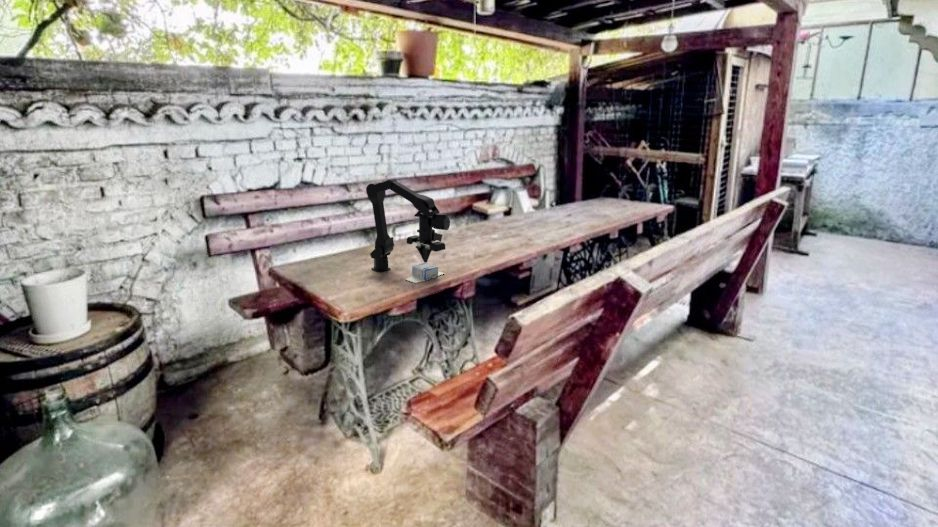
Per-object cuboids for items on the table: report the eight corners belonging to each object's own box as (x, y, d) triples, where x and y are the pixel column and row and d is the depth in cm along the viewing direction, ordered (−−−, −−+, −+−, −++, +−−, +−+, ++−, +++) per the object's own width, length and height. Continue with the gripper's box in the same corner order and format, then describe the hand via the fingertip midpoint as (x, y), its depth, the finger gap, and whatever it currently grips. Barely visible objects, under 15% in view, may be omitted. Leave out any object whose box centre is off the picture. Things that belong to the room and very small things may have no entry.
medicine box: (424, 262, 229) (438, 266, 224) (424, 272, 231) (438, 276, 225) (411, 266, 224) (425, 270, 218) (411, 276, 225) (425, 280, 219)
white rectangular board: (404, 280, 221) (404, 279, 220) (434, 271, 234) (434, 270, 233) (415, 283, 217) (415, 282, 216) (444, 274, 229) (444, 273, 229)
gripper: (454, 228, 218) (453, 263, 223) (424, 220, 230) (424, 254, 234) (436, 232, 210) (435, 268, 215) (405, 224, 222) (405, 259, 226)
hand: (425, 262), depth 223 cm, fingers closed
